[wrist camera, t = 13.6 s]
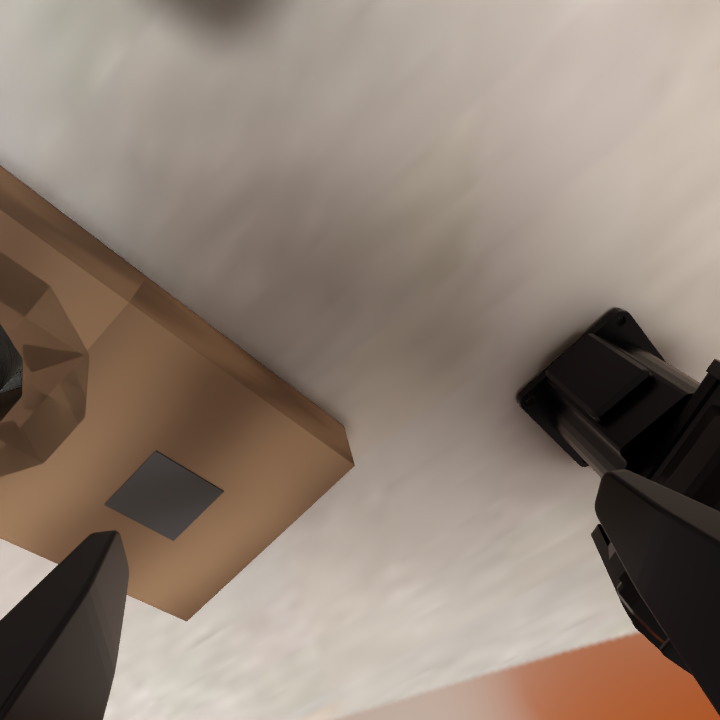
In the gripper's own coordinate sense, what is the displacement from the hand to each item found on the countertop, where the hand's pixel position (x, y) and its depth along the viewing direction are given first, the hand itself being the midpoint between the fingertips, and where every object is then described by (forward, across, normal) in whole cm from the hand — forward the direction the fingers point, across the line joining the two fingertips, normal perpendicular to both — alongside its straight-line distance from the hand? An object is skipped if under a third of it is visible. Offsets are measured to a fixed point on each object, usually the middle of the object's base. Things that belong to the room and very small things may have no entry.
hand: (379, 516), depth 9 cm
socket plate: (+13, +9, +4) cm, 16 cm away
